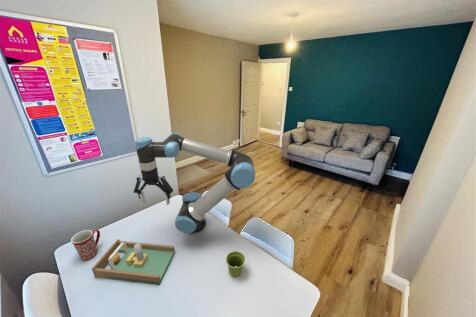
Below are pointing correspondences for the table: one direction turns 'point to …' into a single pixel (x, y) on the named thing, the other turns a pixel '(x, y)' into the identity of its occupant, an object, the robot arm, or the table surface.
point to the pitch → (147, 273)
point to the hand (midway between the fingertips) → (156, 203)
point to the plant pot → (235, 263)
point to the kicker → (137, 256)
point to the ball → (115, 258)
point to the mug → (86, 243)
